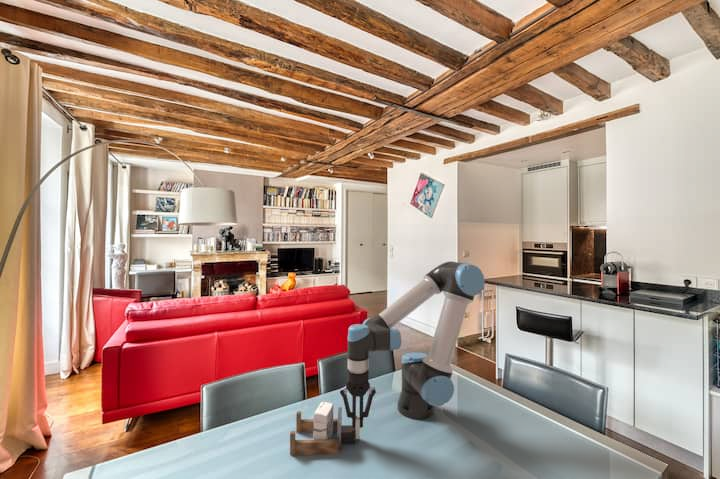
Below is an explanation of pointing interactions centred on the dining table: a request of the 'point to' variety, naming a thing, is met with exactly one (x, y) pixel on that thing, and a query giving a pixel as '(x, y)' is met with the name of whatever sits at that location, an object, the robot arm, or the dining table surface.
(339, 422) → the grey stepped bracket
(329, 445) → the chute
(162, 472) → the dining table surface
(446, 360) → the robot arm
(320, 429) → the ink box
